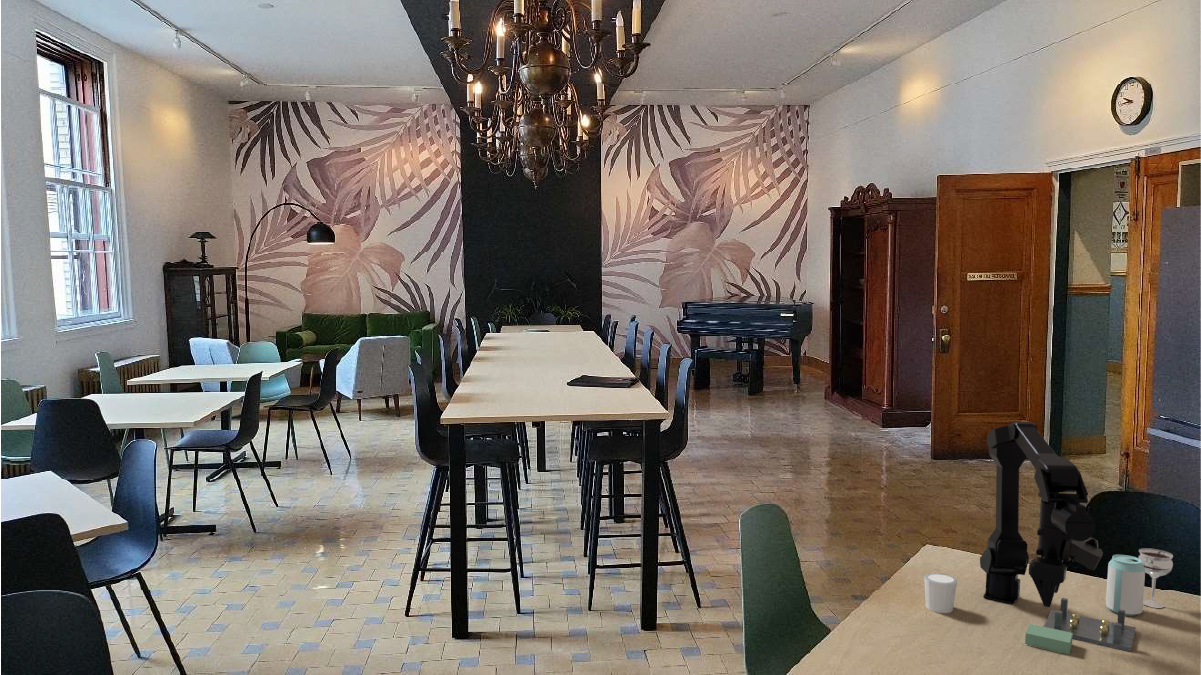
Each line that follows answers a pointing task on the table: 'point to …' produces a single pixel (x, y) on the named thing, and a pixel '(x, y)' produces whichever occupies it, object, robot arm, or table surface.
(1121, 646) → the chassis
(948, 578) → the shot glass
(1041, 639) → the green rectangular block
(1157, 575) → the wineglass
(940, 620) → the table surface
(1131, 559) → the can
